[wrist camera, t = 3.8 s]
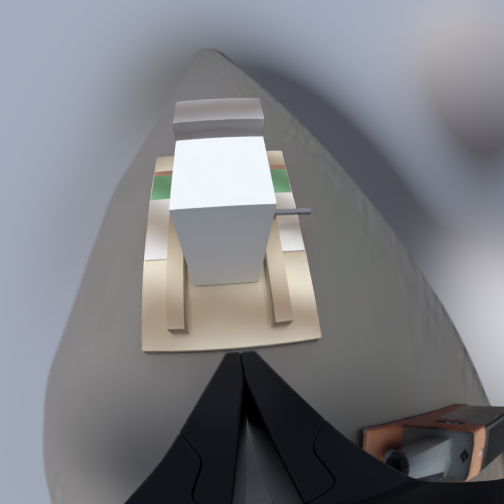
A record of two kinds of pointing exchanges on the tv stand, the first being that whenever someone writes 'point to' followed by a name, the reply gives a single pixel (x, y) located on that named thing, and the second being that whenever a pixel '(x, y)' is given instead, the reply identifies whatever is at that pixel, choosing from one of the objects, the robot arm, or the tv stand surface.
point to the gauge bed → (224, 295)
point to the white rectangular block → (223, 207)
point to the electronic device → (440, 442)
